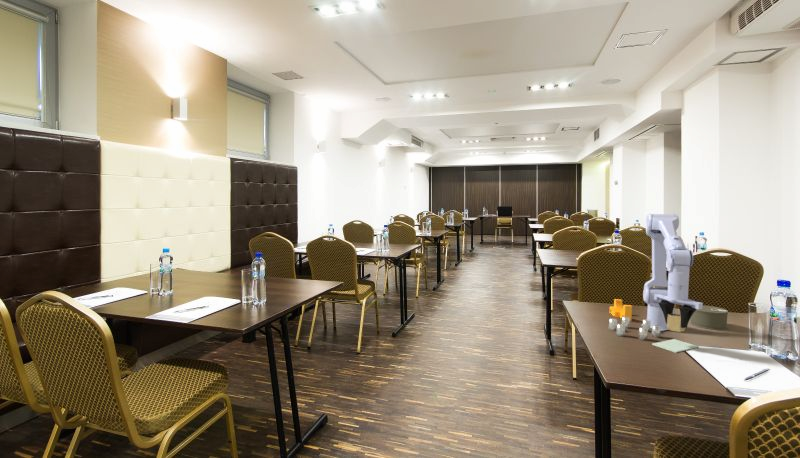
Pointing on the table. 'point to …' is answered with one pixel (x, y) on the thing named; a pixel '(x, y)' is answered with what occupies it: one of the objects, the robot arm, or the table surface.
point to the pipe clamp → (621, 309)
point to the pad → (674, 345)
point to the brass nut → (674, 322)
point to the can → (710, 318)
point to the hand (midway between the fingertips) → (676, 325)
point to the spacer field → (642, 330)
